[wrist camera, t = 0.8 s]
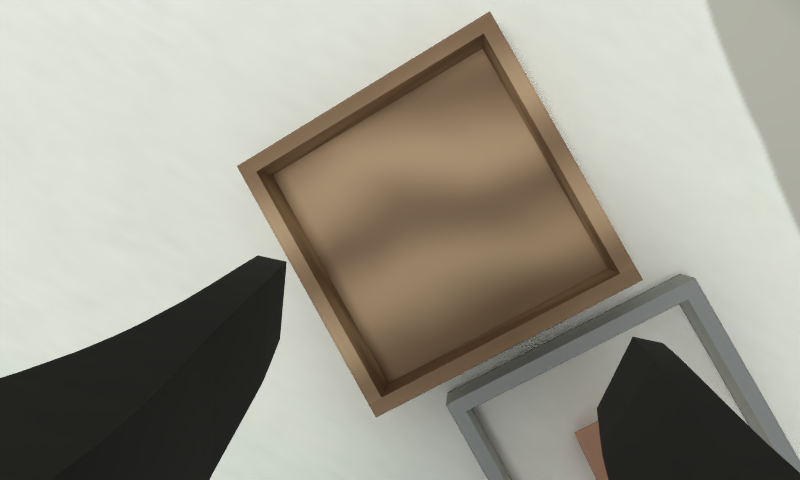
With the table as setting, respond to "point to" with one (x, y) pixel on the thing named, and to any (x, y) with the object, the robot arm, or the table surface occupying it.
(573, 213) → the walnut bin
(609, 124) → the table surface
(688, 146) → the table surface
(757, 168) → the table surface
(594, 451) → the brick block
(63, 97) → the table surface
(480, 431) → the grey square tray
